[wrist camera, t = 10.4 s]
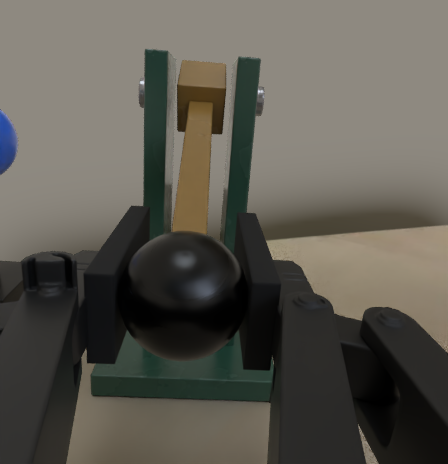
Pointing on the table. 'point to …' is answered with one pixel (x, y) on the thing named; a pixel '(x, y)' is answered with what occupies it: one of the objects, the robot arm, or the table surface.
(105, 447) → the table surface
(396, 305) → the table surface
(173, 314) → the switch lever
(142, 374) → the switch bracket
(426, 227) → the table surface
